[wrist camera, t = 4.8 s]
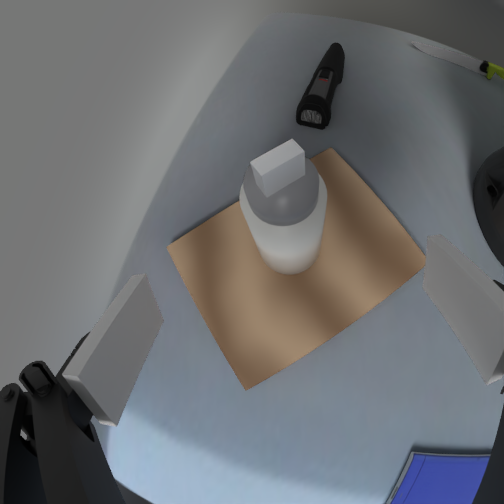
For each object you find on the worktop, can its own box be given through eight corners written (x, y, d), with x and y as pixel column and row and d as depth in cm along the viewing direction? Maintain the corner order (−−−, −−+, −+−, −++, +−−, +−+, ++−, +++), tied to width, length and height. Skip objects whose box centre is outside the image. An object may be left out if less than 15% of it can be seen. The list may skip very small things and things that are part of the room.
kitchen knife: (409, 56, 33) (411, 42, 31) (409, 53, 34) (410, 38, 31) (524, 94, 26) (529, 82, 23) (522, 90, 26) (527, 78, 24)
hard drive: (512, 455, 13) (415, 454, 16) (476, 524, 11) (374, 530, 14) (504, 452, 15) (409, 449, 18) (470, 519, 12) (371, 522, 15)
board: (330, 153, 27) (331, 147, 27) (425, 265, 22) (429, 261, 21) (170, 250, 27) (166, 246, 26) (248, 389, 22) (245, 390, 21)
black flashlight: (350, 61, 33) (351, 44, 30) (327, 132, 29) (328, 111, 26) (324, 56, 34) (324, 39, 31) (293, 125, 30) (291, 104, 27)
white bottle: (297, 206, 25) (290, 106, 14) (332, 252, 23) (353, 167, 12) (247, 237, 25) (207, 150, 14) (280, 286, 23) (260, 223, 12)
